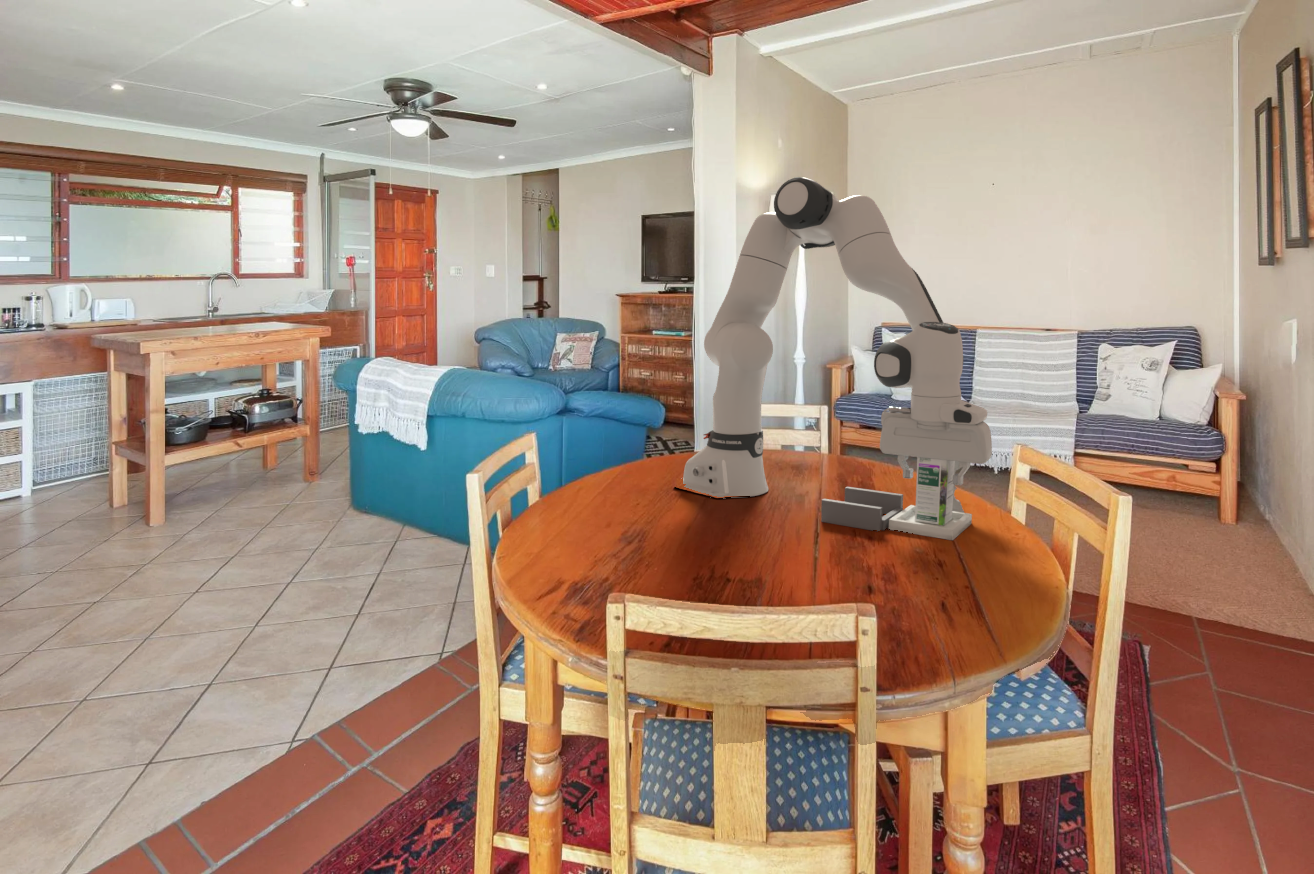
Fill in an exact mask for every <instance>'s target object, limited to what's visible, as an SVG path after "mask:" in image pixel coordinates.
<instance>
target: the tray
mask: <svg viewBox="0 0 1314 874" xmlns="http://www.w3.org/2000/svg"><path fill="white" fill-rule="evenodd" d="M915 508H916V505H914V504H910V505H908V506H907V507H906V508H903V510H902V511H901V512H899V513H898V514H896V515H895V516H894V517H892V518H891V519H889V527H888V530H889V529H890V530H889V531H894V530H898V531H897V532H900V531H903V532H902V533H906V532H908V533H907V534H912V533H913V534H914V535H917V536H918V535H919V536H924V537H930V538H937V539H943V540H948V541H954V540H955V539H956V538H957V537H958V536H960V535H961V533H963V532H964V531H965V530H966V529H968V528H969V527H970V526H971V525H972V520H973V518H972V517H973V514H972V513H968V512H964V513H962V512H955V511H952V519H951V520H950V521H949V522H948V523H946V524H945V525H944V526H940V525H935V524H929V523H923V522H915Z"/></svg>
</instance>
